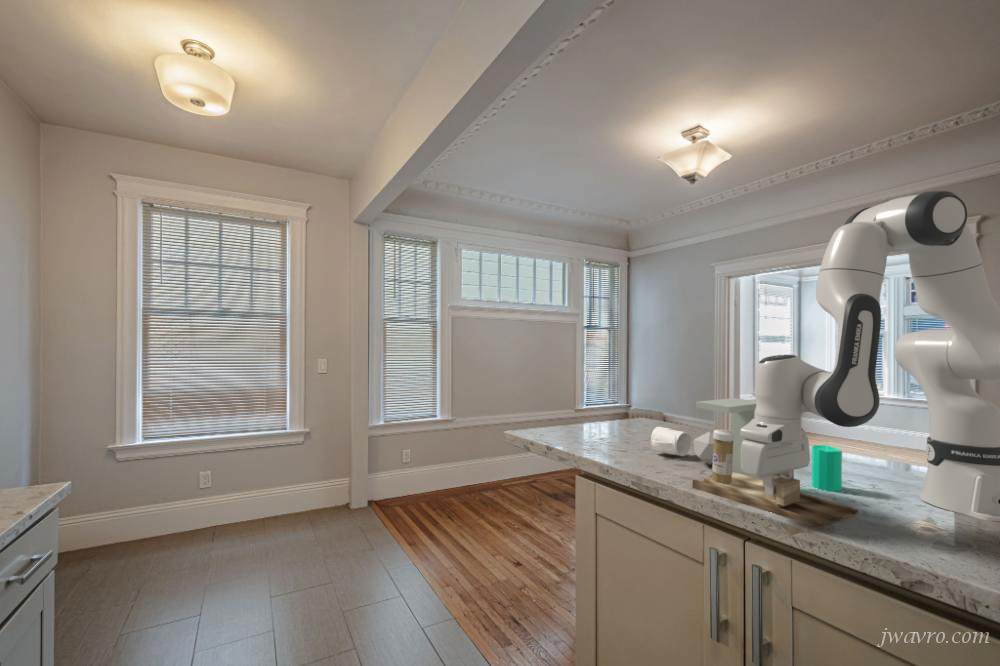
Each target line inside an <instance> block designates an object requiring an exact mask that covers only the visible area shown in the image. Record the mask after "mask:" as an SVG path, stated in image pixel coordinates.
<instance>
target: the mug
mask: <svg viewBox="0 0 1000 666" xmlns="http://www.w3.org/2000/svg"><path fill="white" fill-rule="evenodd" d="M652 430H653V431H652V432H651V436H650V445H651V448H652V449H653V450H654V451H656V452H660V453H664V454H668V455H672V456H673V455H675V456H680V457H684V456H686V455H688V453H689V452H690V451H691V448H692V443H693V442H692V441H693V440H692V436H691V434H690V433H689V432H687V431H682V430H681V431H680V430H675V429H673V428H670V427H669V428H668V427H664V426H656V427H654V429H652Z"/></svg>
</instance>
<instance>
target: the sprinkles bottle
mask: <svg viewBox="0 0 1000 666" xmlns="http://www.w3.org/2000/svg"><path fill="white" fill-rule="evenodd" d="M713 438H714V453H713V464H712V469H711V470H712V473H711V474H712V475H711V476H712V480H713V481H714V482H717V483H722V484H730V483H731V481H732V464H733V442H734V433H733V432H731V431H730V430H727V429H715V430H713Z"/></svg>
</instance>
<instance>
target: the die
mask: <svg viewBox="0 0 1000 666" xmlns="http://www.w3.org/2000/svg"><path fill="white" fill-rule="evenodd" d="M713 434H714V432H712V431H708V432H706V433H704V434H702V435H699V436H698V437H696V438H694V439H693V448H694V449H693V450H694V451H693V452H694V454H695V455H696V456H697V457H698V458H699V459H700V460H702V461H703V462H704V463H706V464H708V465H709V466H711V465H713V453H714V438H713Z"/></svg>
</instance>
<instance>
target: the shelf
mask: <svg viewBox="0 0 1000 666" xmlns="http://www.w3.org/2000/svg"><path fill="white" fill-rule="evenodd" d="M695 408H696V409H702V410H707V411H712V412H713V411H714V412H719V413H723V414H724V413H725V414H730V415H729V416H730V425H729V427H730V428H729V429H730V430H729V431H731V432H733V433H734V442H733V464H732V472H736V473H739V474H743V475H745V474H744V473H743V471H742V468H741V445H742V442H743V440H744V439H746V438H742V437H741V435H740V431H741V428H742V427H744V426H745V425H747V424H748V423H749V422H750V421H751V420H752V419H754V412H755V408H756V400H752V399H744V398H743V399H742V398H737V397H731V398H719V399H718V398H717V399H710V400H708V399H707V400H701V401H695ZM746 476H748V475H746ZM750 477H751V476H750ZM753 478H755V477H753ZM756 479H760V480H762V478H756Z"/></svg>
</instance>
